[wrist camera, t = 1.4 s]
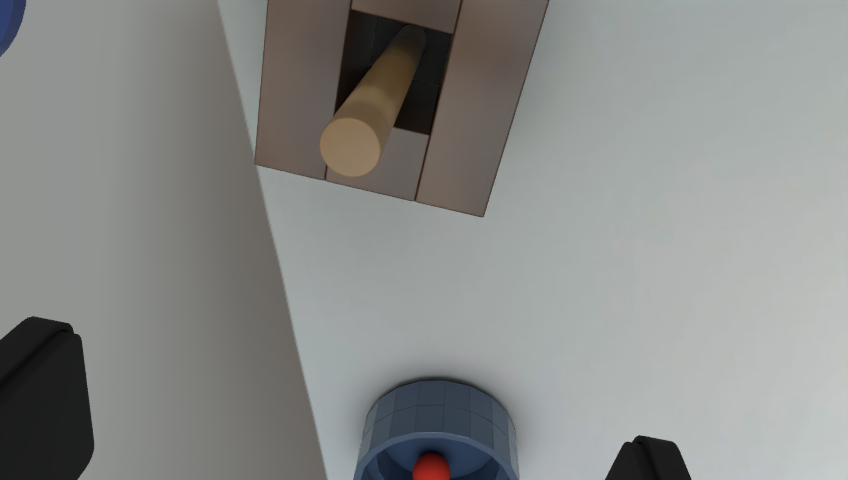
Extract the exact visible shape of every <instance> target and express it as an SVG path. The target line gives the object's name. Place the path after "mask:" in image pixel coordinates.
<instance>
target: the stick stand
mask: <svg viewBox="0 0 848 480" xmlns="http://www.w3.org/2000/svg"><path fill="white" fill-rule="evenodd" d="M548 4H549V0H268V4H267V16H266V28H265V40H264V52H263V64H262V77H261V89H260V101H259V113H258V125H257V137H256V149H255V161H254V164H255V165H259V166H263V167H267V168H272V169H276V170H280V171H285V172H289V173H293V174H297V175H302V176H306V177H310V178H315V179H319V180H325V181H328V182H332V183H336V184H340V185H345V186H349V187H353V188H358V189H362V190H366V191H371V192H375V193H379V194H383V195H388V196H392V197H396V198H401V199H405V200H409V201H415V202H418V203H423V204H427V205H431V206H436V207H440V208H444V209H448V210H453V211H457V212H461V213H466V214H470V215H474V216H478V217H484V214H485V211H486V208H487V204H488V201H489V198H490V194H491V191H492V188H493V185H494V181H495V178H496V175H497V171H498V168H499V165H500V162H501V158H502V155H503V152H504V148H505V145H506V142H507V139H508V135H509V132H510V129H511V125H512V122H513V119H514V116H515V112H516V109H517V106H518V102H519V99H520V96H521V93H522V89H523V86H524V83H525V79H526V76H527V73H528V70H529V66H530V63H531V60H532V56H533V53H534V50H535V47H536V43H537V40H538V37H539V33H540V30H541V27H542V23H543V20H544V17H545V14H546V10H547V7H548ZM378 16H379V17H383V18H387V19H391V20H395V21H399V22H403V23H407V24H412V25H416V26H420V27H424V28H428V29H432V30H436V31H440V32H444V33H448V34H452V37H451V41H450V46H449V50H448V54H447V58H446V63H445V67H444V71H443V76H442V80H441V84H440V87H439V86H436V85H432V84H428V83H424V82H420V81H416V80H412V82H411V84H410V86H409V89H408V91H407V94H406V96H405V99H404V101H403V104H402V106H401V108H400V111H399V113H398V116H397V118H396V121H395V123H394V126H393V128H392V130H391V133H390V135H389V138H388V140H387V143H386V145H385V148H384V150H383V152H382V155H381V157H380V160H379V162H378V164H377V165H376V167H375V168H374V169H373V170H372V171H371V172H369V173H368V174H366V175H363V176H360V177H345V176H342V175H339V174H337V173H336V172H334V171H333V170H331V169H330V168H329V167H328V166H327V165H326V163H325V162H324V160H323V158H322V156H321V153H320V149H319V140H320V136H321V133H322V131H323V130H324V128H325V127H326V126H327V124H328V123H329V122H330V120H331V119H332V118H333V117H334V115H335V114H336V113H337V111H338V110H339V109H340V107H341V106H342V105H343V104H344V102H345V101H346V100H347V98H348V97H349V96H350V95H351V93H352V92H353V91H354V89H355V88H356V87H357V85H358V84H359V83H360V82H361V80H362V79H363V78H364V76H365V75H366V74H367V72H368V71H369V70H370V69H369V64H370V58H371V52H372V46H373V40H374V35H375V29H376V23H377V17H378Z"/></svg>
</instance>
